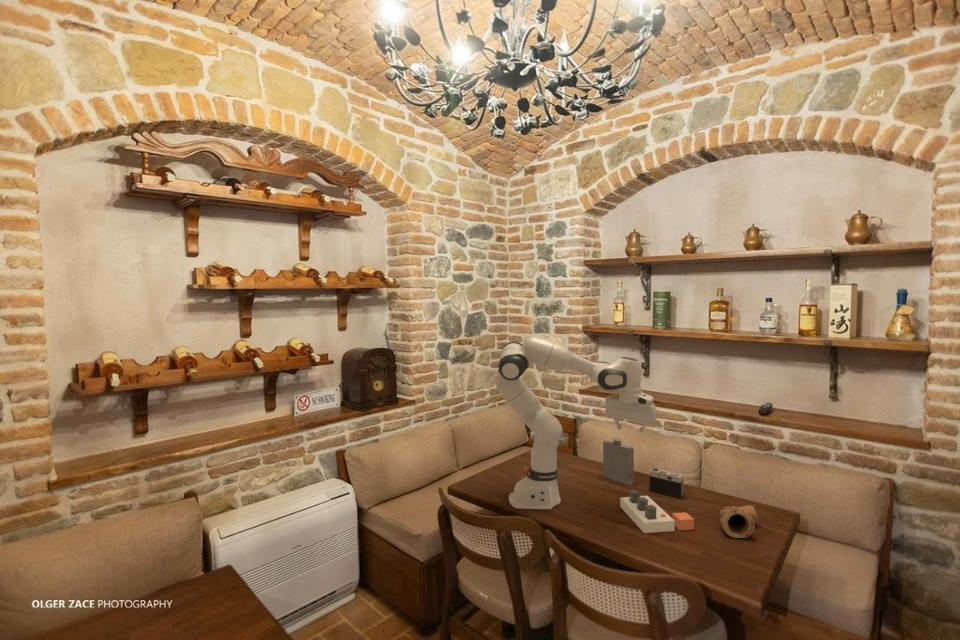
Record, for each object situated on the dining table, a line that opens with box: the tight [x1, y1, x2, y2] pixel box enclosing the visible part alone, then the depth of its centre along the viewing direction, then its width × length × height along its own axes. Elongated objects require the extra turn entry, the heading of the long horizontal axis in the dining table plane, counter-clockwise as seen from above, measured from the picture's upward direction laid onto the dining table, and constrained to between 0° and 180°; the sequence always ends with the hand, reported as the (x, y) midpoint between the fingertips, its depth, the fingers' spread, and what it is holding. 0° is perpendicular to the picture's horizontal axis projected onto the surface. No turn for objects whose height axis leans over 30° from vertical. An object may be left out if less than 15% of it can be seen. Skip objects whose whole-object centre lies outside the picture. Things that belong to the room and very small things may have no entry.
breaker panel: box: [619, 495, 676, 534], centre depth 187 cm, size 12×22×4 cm, turn 6°
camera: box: [648, 467, 684, 500], centre depth 211 cm, size 14×8×10 cm, turn 50°
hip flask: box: [602, 438, 635, 486], centre depth 225 cm, size 16×4×20 cm, turn 42°
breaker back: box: [629, 489, 641, 503], centre depth 194 cm, size 3×3×4 cm
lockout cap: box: [671, 511, 695, 531], centre depth 181 cm, size 6×6×4 cm
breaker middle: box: [637, 497, 648, 511], centre depth 187 cm, size 3×3×4 cm
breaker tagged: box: [645, 505, 656, 520], centre depth 180 cm, size 3×3×4 cm
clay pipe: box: [719, 505, 759, 539], centre depth 177 cm, size 19×11×15 cm
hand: (630, 430), depth 192 cm, fingers open, 8 cm apart
